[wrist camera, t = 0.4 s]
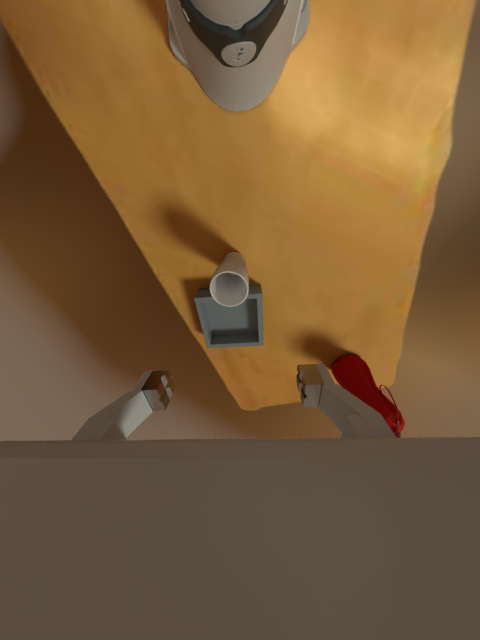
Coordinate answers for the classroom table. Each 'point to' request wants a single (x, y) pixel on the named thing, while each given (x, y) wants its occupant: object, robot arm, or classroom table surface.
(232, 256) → the drinking glass
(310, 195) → the classroom table surface
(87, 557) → the robot arm
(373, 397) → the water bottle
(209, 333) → the bin
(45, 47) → the classroom table surface
